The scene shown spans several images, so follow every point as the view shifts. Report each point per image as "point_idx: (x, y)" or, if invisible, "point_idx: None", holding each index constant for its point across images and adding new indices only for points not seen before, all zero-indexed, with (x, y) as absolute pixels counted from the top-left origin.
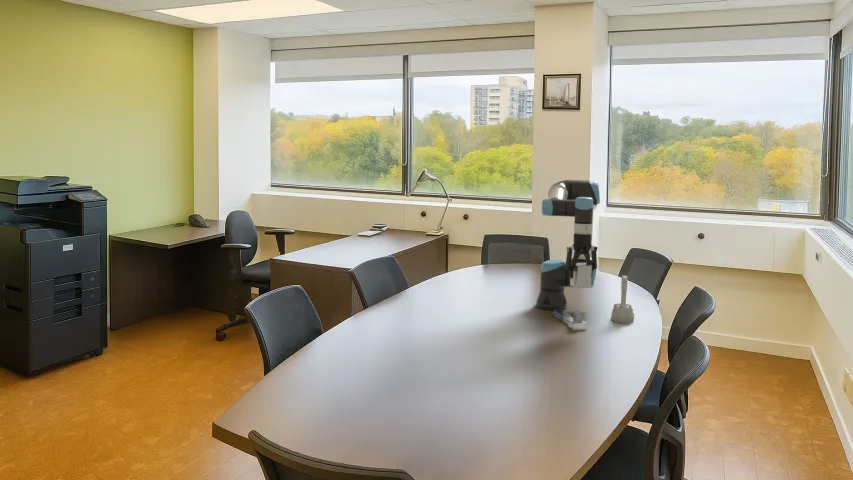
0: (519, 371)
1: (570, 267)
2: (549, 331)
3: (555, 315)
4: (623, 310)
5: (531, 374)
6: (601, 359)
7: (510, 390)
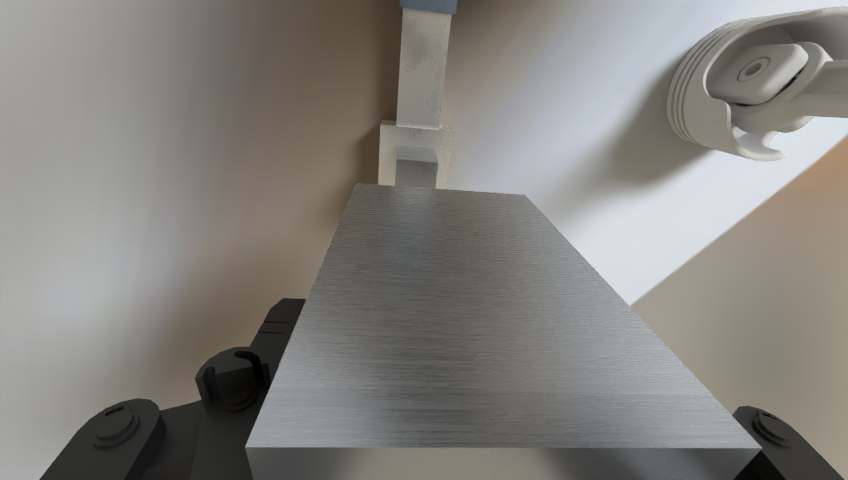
0: None
1: (221, 449)
2: (256, 170)
3: None
4: (727, 148)
5: None
6: None
7: None
